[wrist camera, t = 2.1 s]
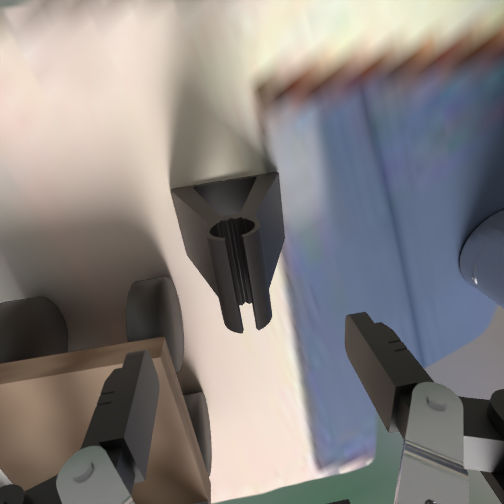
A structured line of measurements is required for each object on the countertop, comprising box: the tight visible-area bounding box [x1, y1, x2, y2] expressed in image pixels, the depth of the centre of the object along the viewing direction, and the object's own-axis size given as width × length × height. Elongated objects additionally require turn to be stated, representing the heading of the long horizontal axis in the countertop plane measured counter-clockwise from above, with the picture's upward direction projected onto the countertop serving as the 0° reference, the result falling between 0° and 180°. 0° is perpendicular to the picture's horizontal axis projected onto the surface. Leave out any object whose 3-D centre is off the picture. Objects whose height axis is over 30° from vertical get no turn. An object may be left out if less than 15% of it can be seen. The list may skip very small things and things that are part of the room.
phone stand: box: [170, 172, 285, 333], centre depth 22 cm, size 9×6×12 cm, turn 97°
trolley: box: [0, 277, 212, 504], centre depth 24 cm, size 14×23×22 cm, turn 7°
